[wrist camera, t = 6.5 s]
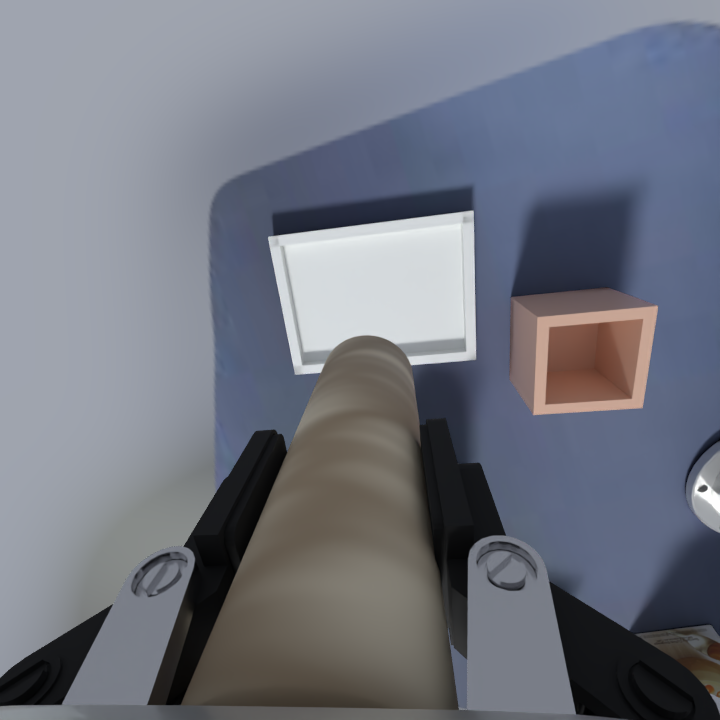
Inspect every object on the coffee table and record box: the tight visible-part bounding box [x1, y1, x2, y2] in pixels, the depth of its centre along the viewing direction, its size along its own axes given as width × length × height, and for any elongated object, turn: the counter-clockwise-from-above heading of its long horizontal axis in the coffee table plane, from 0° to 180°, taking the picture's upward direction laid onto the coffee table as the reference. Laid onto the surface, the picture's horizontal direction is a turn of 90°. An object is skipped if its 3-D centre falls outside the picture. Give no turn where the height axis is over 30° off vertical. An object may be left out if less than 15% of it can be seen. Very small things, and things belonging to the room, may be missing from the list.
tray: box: [268, 211, 476, 375], centre depth 33 cm, size 16×12×2 cm
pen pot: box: [510, 287, 658, 415], centre depth 30 cm, size 8×8×6 cm
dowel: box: [181, 335, 459, 710], centre depth 11 cm, size 4×4×13 cm
